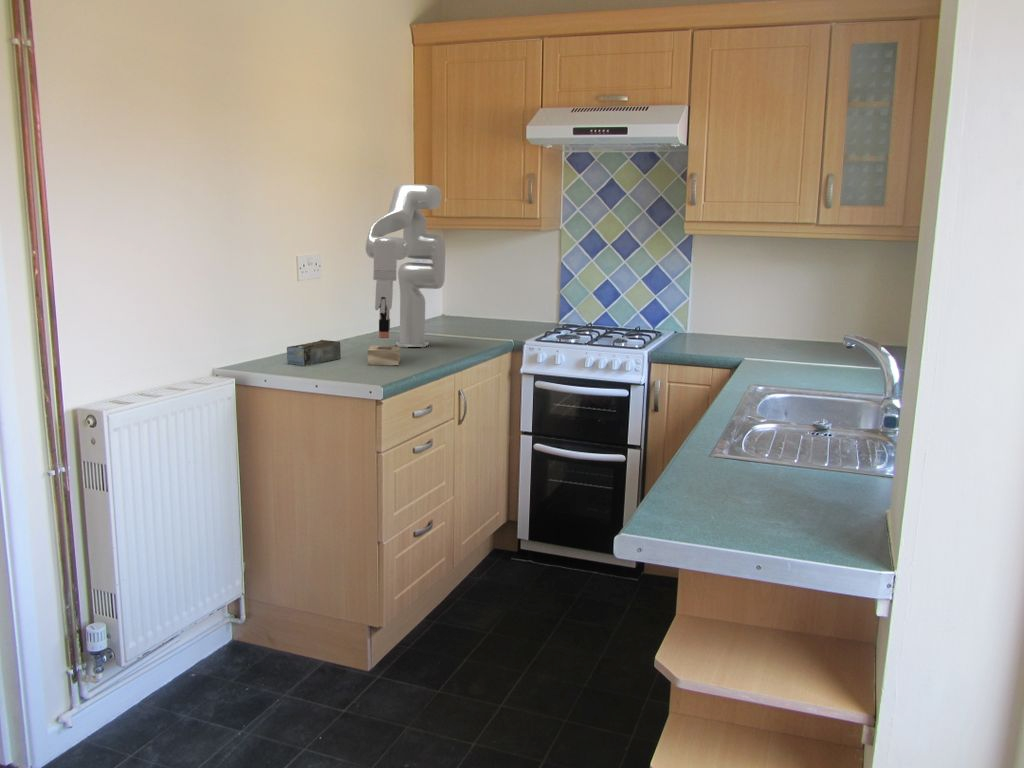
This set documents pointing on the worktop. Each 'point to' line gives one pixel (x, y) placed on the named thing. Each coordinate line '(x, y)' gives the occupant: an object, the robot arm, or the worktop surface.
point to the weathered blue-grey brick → (313, 352)
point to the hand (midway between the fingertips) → (384, 330)
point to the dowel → (384, 334)
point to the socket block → (384, 355)
